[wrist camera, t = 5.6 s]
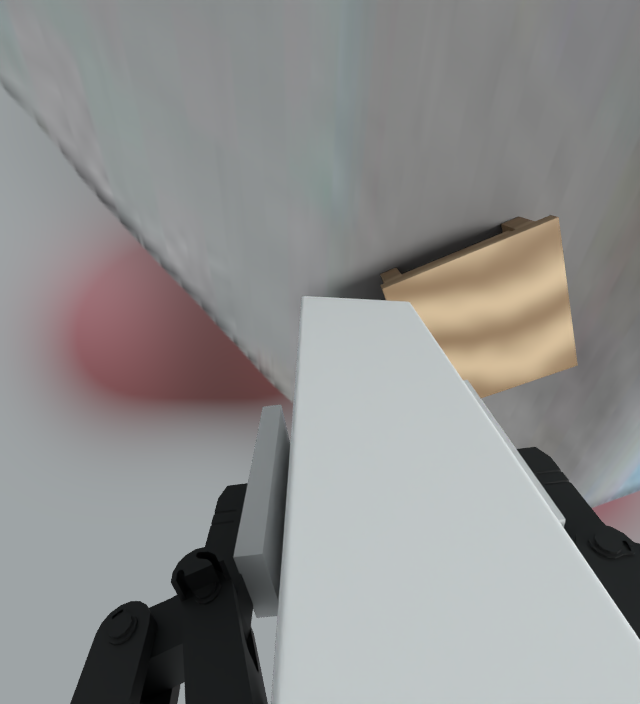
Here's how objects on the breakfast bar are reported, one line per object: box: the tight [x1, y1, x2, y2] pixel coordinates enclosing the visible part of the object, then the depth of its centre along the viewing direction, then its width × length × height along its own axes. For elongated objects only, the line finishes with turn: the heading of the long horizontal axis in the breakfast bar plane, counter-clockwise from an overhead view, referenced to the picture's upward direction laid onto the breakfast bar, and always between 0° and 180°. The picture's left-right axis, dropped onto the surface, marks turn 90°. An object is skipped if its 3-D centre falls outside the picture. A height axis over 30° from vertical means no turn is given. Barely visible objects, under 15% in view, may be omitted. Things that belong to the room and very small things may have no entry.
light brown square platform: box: [380, 215, 577, 398], centre depth 40 cm, size 16×16×6 cm
